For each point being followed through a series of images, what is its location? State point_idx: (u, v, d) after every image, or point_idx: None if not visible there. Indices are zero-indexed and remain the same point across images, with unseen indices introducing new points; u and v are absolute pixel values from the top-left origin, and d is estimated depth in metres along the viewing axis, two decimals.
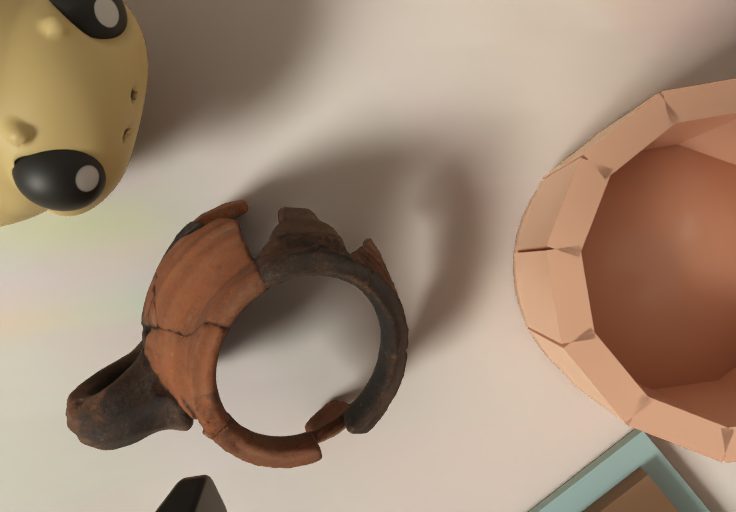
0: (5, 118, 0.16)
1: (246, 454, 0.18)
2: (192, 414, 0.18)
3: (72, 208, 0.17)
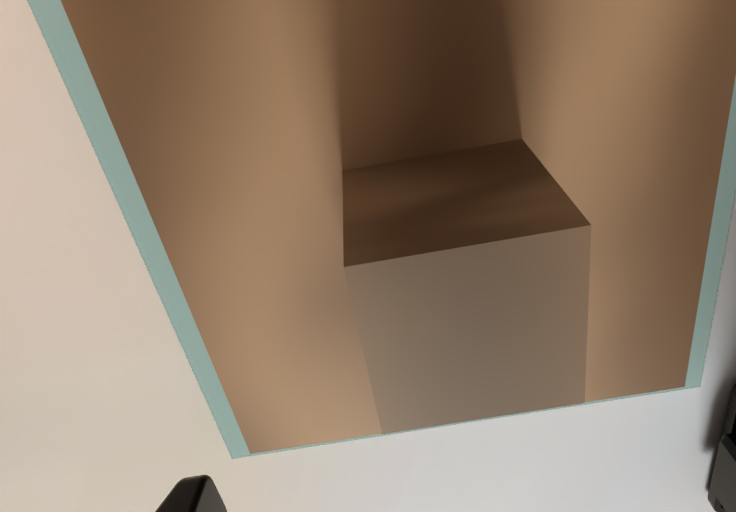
0: None
1: None
2: None
3: None
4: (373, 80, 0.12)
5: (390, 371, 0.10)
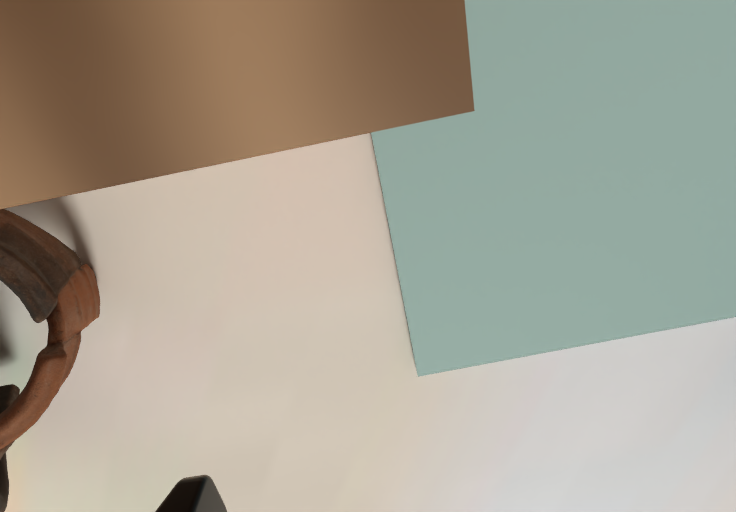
0: None
1: (10, 434, 0.17)
2: None
3: None
4: None
5: None
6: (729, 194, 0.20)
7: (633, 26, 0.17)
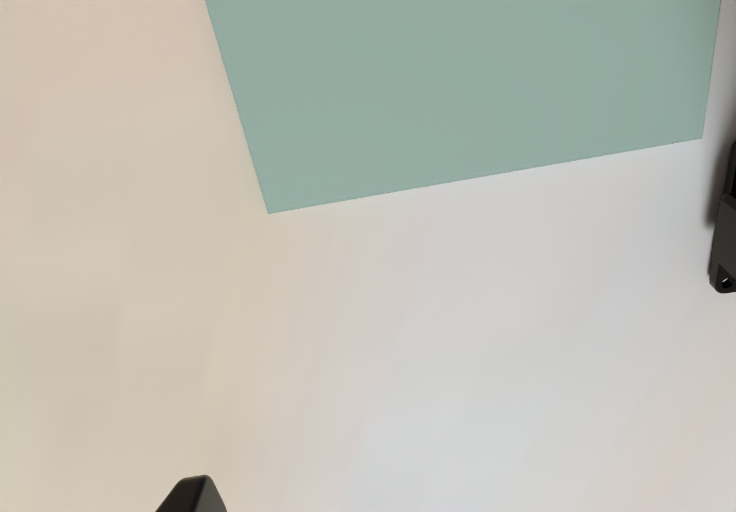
0: None
1: None
2: None
3: None
4: None
5: None
6: None
7: None
